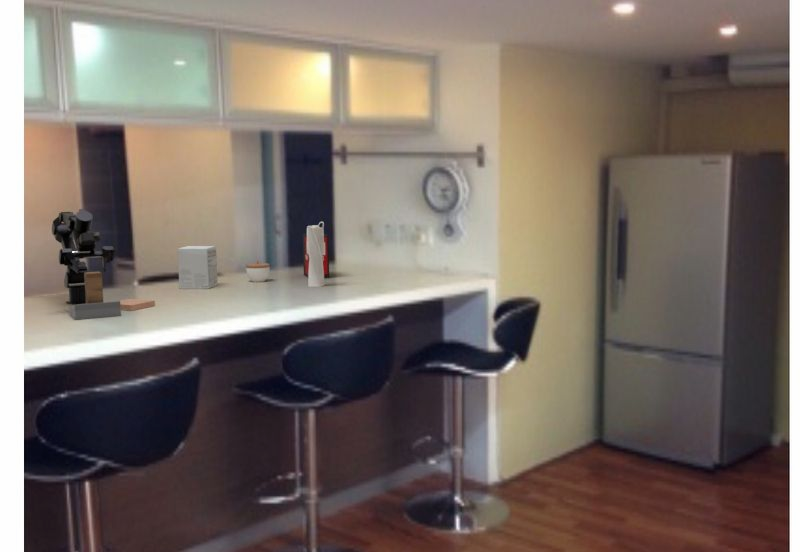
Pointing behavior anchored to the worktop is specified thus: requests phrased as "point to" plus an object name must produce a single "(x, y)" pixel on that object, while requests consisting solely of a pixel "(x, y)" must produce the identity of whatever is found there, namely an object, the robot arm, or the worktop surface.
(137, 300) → the terracotta tile stand
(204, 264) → the supplement box
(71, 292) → the robot arm
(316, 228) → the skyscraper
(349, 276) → the worktop surface
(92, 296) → the walnut block
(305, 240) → the cleaning product box
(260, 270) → the lidded jar
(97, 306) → the slate shelf ledge
